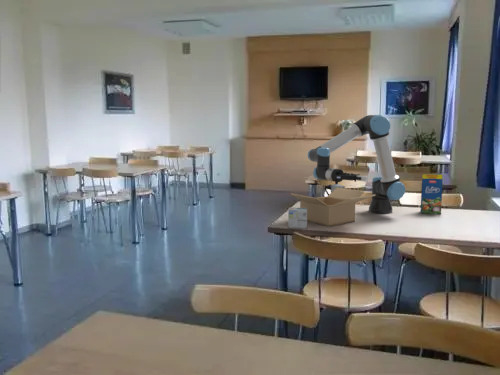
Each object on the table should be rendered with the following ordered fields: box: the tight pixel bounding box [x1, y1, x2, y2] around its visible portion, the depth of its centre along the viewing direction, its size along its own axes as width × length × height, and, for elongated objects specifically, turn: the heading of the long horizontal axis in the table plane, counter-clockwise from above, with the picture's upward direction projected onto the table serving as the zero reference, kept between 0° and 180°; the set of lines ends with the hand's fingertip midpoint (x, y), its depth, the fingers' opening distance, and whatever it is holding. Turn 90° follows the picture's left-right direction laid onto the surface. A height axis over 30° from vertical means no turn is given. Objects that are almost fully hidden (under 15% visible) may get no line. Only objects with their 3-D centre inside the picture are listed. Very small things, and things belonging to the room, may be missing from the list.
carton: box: [290, 187, 365, 228], centre depth 295 cm, size 25×40×17 cm, turn 127°
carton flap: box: [330, 194, 375, 207], centre depth 278 cm, size 16×21×1 cm
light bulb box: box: [287, 207, 308, 229], centre depth 279 cm, size 11×7×11 cm, turn 84°
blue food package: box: [420, 173, 443, 215], centre depth 316 cm, size 6×12×25 cm, turn 75°
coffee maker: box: [323, 182, 346, 196], centre depth 341 cm, size 15×9×18 cm, turn 85°
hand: (366, 179), depth 268 cm, fingers closed
